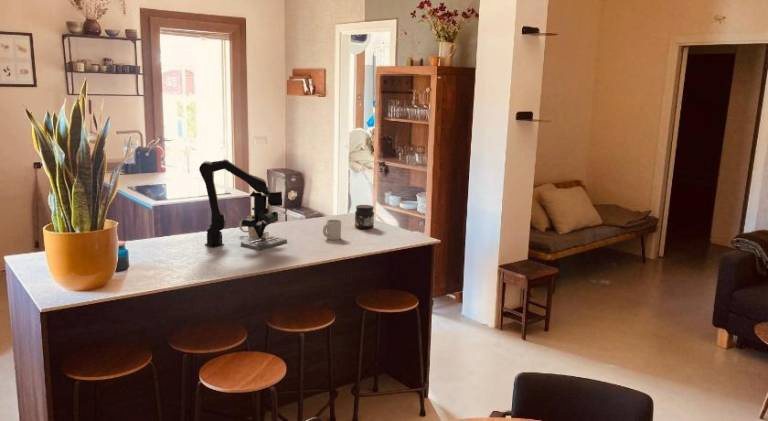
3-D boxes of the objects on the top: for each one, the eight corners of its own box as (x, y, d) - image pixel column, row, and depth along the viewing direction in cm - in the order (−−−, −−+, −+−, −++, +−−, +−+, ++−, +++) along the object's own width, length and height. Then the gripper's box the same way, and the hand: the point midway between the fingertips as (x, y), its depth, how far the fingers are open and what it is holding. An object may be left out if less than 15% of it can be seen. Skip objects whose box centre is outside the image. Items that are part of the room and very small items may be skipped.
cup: (343, 238, 307) (344, 221, 305) (326, 241, 301) (327, 223, 299) (335, 235, 313) (335, 219, 311) (319, 238, 306) (319, 221, 305)
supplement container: (353, 225, 337) (354, 204, 335) (371, 225, 339) (372, 204, 337) (355, 230, 327) (356, 208, 325) (375, 230, 329) (376, 208, 326)
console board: (259, 250, 280) (259, 245, 279) (240, 245, 286) (240, 241, 286) (286, 242, 296) (287, 238, 295) (268, 238, 302) (268, 234, 301)
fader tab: (265, 242, 288) (265, 232, 287) (258, 240, 291) (258, 231, 290) (268, 241, 290) (268, 232, 289) (261, 239, 292) (261, 230, 291)
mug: (261, 238, 300) (261, 219, 298) (236, 237, 301) (236, 217, 299) (265, 234, 309) (265, 215, 307) (240, 233, 309) (240, 214, 307)
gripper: (258, 211, 273) (258, 244, 276) (286, 205, 288) (286, 237, 291) (240, 207, 278) (241, 240, 282) (269, 202, 294) (269, 233, 297)
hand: (260, 237), depth 288 cm, fingers closed
